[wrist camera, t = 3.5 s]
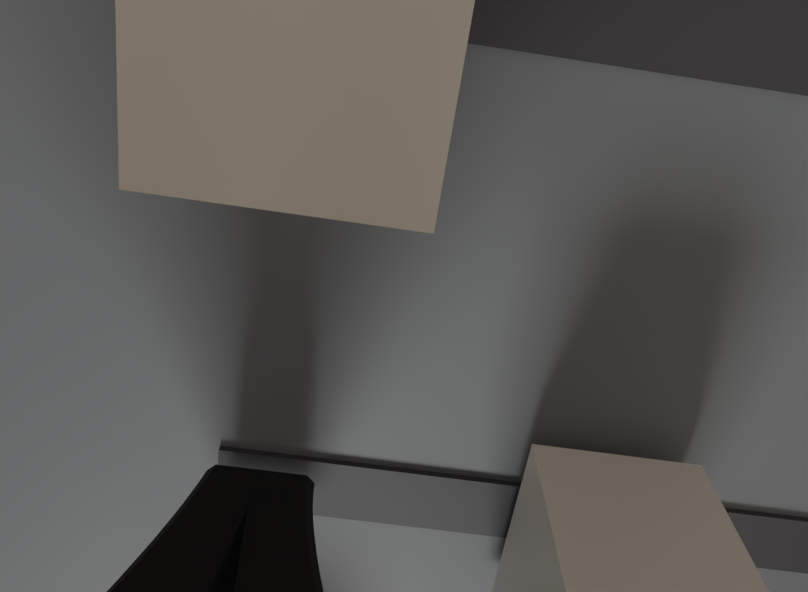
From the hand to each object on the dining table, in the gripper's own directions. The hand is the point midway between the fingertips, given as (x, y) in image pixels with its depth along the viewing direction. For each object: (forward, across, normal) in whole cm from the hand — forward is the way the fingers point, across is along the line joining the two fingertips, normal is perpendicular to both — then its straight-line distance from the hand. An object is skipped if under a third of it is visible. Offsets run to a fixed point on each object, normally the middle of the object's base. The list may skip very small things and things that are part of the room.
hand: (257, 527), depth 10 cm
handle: (+1, 0, -7) cm, 7 cm away
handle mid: (+1, -5, 0) cm, 5 cm away
